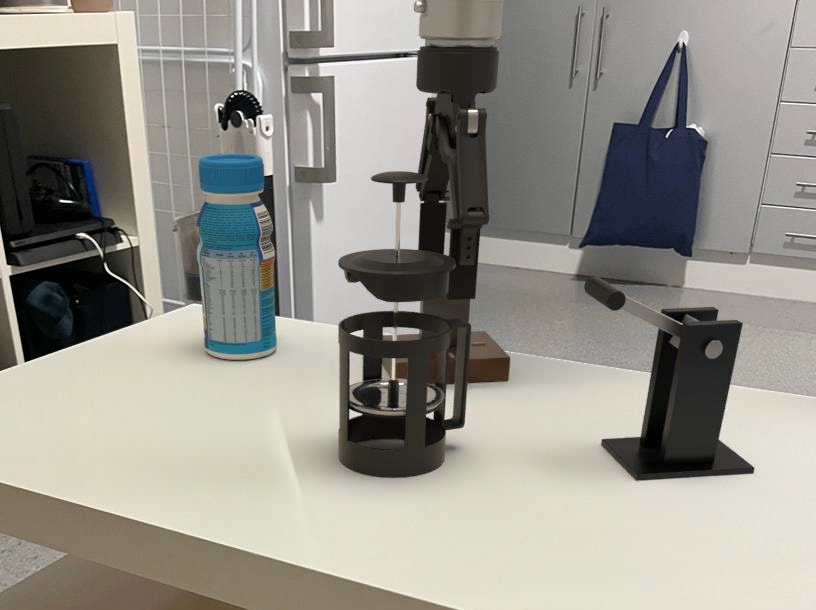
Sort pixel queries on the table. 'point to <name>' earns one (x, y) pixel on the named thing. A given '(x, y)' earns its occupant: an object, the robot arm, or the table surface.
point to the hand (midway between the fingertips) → (444, 282)
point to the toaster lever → (634, 307)
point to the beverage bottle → (236, 258)
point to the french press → (391, 397)
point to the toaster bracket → (686, 403)
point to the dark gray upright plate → (445, 314)
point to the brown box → (483, 360)
